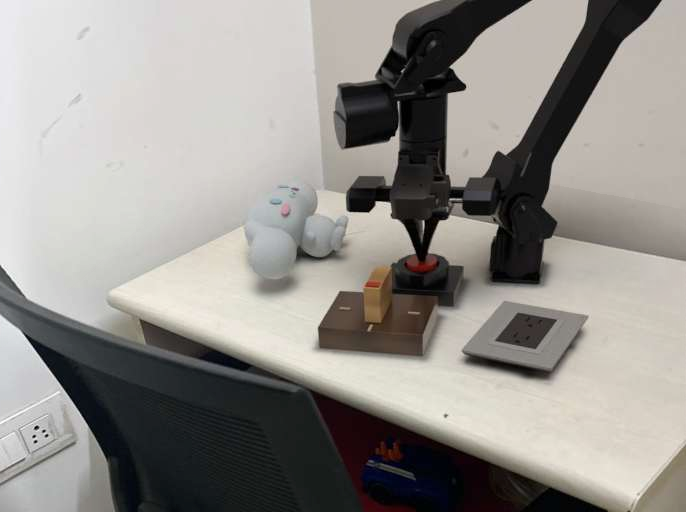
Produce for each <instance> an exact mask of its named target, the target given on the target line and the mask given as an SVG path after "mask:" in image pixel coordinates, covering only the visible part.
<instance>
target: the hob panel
mask: <svg viewBox="0 0 686 512" xmlns="http://www.w3.org/2000/svg"><path fill="white" fill-rule="evenodd" d="M438 318H439V306H438V296H421V295H403V294H392V302H391V304H390V306H389V308H388V310H387V312H386V314H385V316H384V318H383V320H382V322H381V323H373V322H365V310H364V291H352V290H351V291H350V290H340V291H338V294H337V295H336V296H335V298H334V300H333V302H332V303H331V304H330V306H329V308H328V310H327V311H326V313H325V315H324V316H323V318H322V319H321V321H320V323H319V324H318V326H317V334H318V345H319V349H324V350H335V351H346V352H347V351H349V352H360V353H361V352H362V353H374V354H385V355H397V356H399V355H400V356H411V357H423V356H424V354H425V351H426V349H427V346H428V344H429V342H430V338H431V336H432V334H433V331H434V328H435V325H436V323H437V320H438Z"/></svg>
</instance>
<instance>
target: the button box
mask: <svg viewBox="0 0 686 512" xmlns="http://www.w3.org/2000/svg"><path fill="white" fill-rule="evenodd" d="M414 255H416V253H412V254H408V255H405V256H403V257H401V258H398V260H397V261H396V262H391V264H390V266H389V267H392V294H403V295H421V296H438V307H448V308H454V306H455V304H456V302H457V298H458V296H459V293H460V290H461V287H462V284H463V282H464V271H465V269H464V268H465V266H464V265H453V264H450V262H449V261H448V259H447V258H446V257H445V256H443V255H439V254H436V253H429V252H428V255H432V256H435V257H436V258H437V268H435V269H433V270H429V271H424V272H420V271H412V270H409V269H407V259H408V258H409V257H411V256H414Z"/></svg>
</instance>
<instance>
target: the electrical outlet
mask: <svg viewBox="0 0 686 512" xmlns="http://www.w3.org/2000/svg"><path fill="white" fill-rule="evenodd" d="M588 319H589V315H588V314H582V313H576V312H572V311H571V312H570V311H565V310H559V309H554V308H549V307H543V306H537V305H532V304H525V303H520V302H514V301H508V300H503V301H502V302H501V303H500V305H499V306H498V307H497V308H496V309H495V310H494V312H493V313H492V314H491V315H490V316H489V317H488V319H486V321H485V322H484V323H483V324H482V325H481V326H480V327H479V329H478V330H477V332H475V334H474V335H473V336H472V337H471V338H470V339H469V341H467V343H466V344H465V345H464V346H463V347H462V349H461V353H463V354H464V355H466V356H470V357H474V358H480V359H485V360H489V361H494V362H499V363H503V364H508V365H513V366H518V367H522V368H527V369H532V370H536V371H540V372H545V373H551V372H553V369H554V368H555V367H556V365H557V364H558V362H559V361H560V359H561V358H562V357H563V355H564V354H565V353H566V351H567V349H568V348H569V346H570V345H571V344H572V342H573V341H574V339H575V338H576V336H577V335H578V333H579V332H580V330H581V329H582V327H583V326H584V325H585V324H586V322H587V320H588Z"/></svg>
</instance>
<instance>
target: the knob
mask: <svg viewBox="0 0 686 512" xmlns="http://www.w3.org/2000/svg"><path fill="white" fill-rule="evenodd" d="M363 292H364V310H365V322H373V323H381V322H382V320H383V318H384V316H385V314H386V312H387V310H388V308H389V306H390V304H391V302H392V267H390V266H380V265H376V266H375V267H374V268H373V270H372V273H371V274H370V276H369V278H368V279H367V281H366V282H365V284H364V285H363Z"/></svg>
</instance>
